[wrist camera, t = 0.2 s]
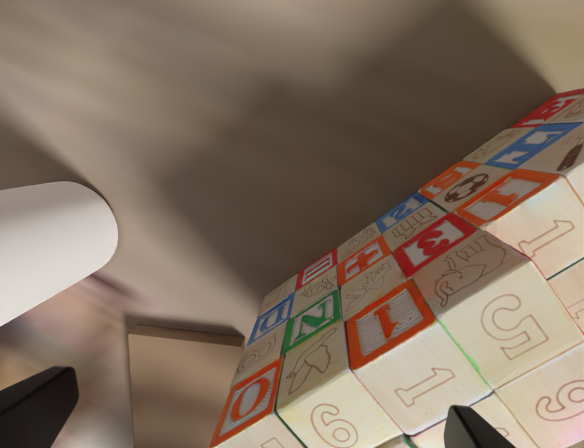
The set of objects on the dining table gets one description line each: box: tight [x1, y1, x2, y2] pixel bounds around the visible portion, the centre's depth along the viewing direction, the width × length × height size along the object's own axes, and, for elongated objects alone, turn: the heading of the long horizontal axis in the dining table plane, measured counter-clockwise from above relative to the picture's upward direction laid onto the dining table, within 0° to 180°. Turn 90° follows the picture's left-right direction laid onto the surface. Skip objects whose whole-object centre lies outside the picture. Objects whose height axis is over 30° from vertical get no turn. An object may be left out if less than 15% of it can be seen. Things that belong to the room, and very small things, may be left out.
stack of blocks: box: [209, 88, 584, 448], centre depth 16 cm, size 21×6×12 cm, turn 129°
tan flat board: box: [128, 325, 245, 448], centre depth 25 cm, size 12×8×1 cm, turn 176°
